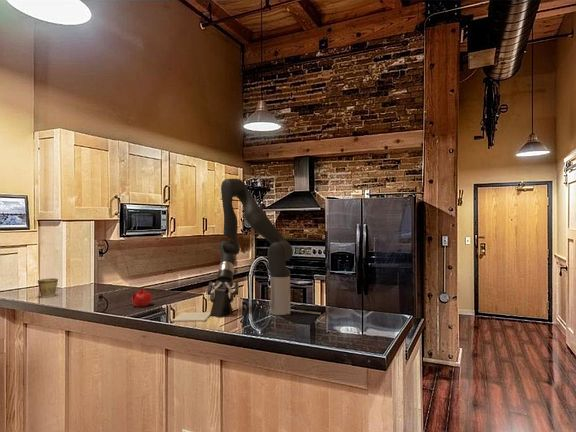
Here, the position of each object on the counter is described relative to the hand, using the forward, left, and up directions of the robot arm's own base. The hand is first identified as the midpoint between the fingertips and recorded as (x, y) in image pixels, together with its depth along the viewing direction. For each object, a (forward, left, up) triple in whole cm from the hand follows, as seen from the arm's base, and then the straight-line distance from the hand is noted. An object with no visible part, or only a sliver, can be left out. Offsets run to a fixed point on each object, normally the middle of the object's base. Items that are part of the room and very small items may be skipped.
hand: (221, 301), depth 176 cm
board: (+12, +4, -6) cm, 14 cm away
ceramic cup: (+110, -47, -6) cm, 120 cm away
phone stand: (0, -1, -6) cm, 6 cm away
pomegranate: (+45, -21, -6) cm, 50 cm away
